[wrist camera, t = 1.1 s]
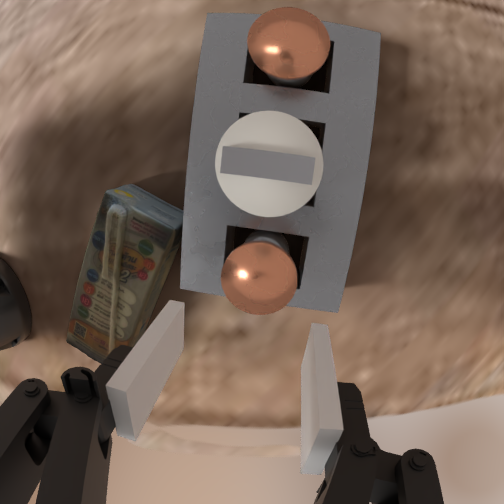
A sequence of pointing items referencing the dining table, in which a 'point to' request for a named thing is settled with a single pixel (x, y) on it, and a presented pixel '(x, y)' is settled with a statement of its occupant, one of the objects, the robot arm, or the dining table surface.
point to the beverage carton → (123, 270)
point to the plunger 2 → (260, 274)
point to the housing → (330, 140)
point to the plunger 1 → (288, 45)
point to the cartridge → (269, 163)
